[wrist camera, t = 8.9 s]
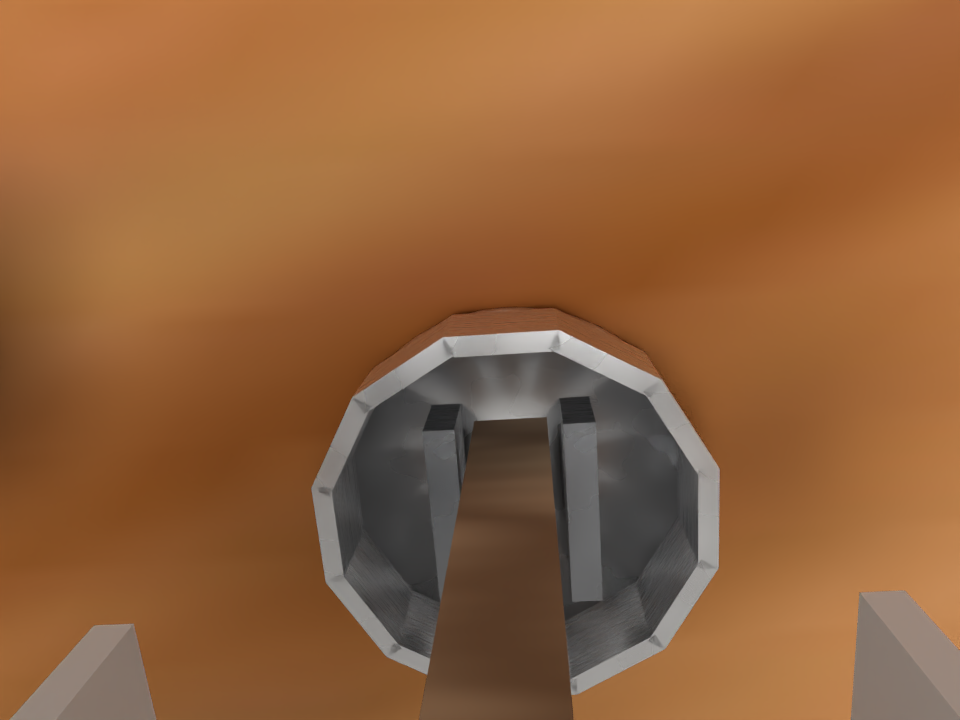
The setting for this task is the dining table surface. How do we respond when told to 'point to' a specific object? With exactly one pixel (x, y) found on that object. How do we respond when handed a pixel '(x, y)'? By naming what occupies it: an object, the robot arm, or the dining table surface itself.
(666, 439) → the tin
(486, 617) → the brown elongated block
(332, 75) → the dining table surface
